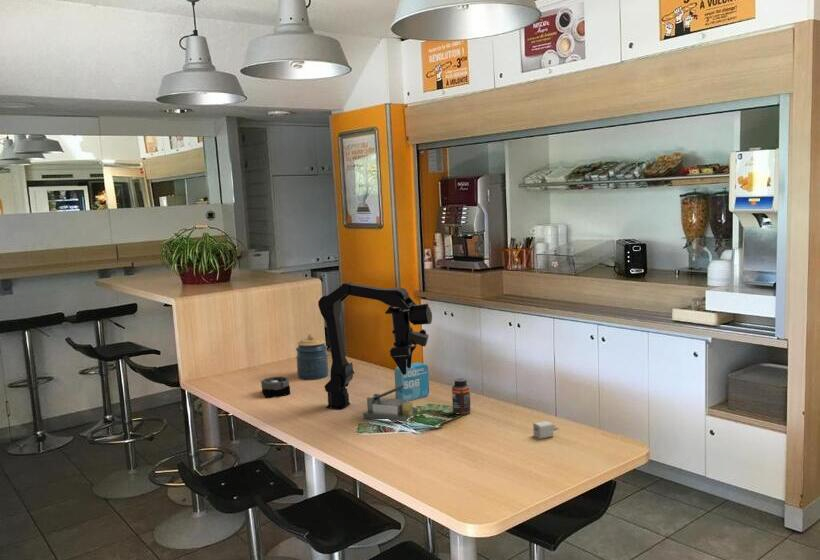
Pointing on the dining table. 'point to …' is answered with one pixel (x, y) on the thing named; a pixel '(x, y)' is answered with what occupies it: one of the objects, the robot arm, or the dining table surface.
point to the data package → (412, 382)
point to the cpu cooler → (275, 387)
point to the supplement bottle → (461, 397)
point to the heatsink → (389, 409)
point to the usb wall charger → (543, 429)
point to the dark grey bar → (387, 393)
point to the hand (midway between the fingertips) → (406, 371)
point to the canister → (312, 358)
